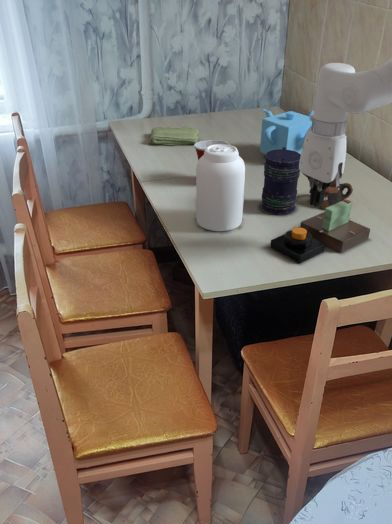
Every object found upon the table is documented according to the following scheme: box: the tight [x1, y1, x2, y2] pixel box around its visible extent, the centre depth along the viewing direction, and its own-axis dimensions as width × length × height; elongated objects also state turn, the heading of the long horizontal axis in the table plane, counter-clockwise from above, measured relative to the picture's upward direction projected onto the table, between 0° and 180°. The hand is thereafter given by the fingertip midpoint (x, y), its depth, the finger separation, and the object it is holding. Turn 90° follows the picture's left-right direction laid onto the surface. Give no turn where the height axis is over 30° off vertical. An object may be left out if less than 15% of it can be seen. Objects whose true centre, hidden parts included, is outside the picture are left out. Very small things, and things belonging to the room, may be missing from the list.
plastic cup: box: [193, 139, 231, 162], centre depth 165 cm, size 11×11×12 cm
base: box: [299, 211, 371, 253], centre depth 141 cm, size 14×12×3 cm
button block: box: [269, 229, 326, 264], centre depth 135 cm, size 10×9×4 cm
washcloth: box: [149, 126, 200, 146], centre depth 198 cm, size 13×18×3 cm
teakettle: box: [259, 108, 314, 155], centre depth 181 cm, size 19×19×15 cm
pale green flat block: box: [322, 198, 353, 231], centre depth 138 cm, size 8×2×6 cm, turn 130°
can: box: [195, 144, 246, 232], centre depth 142 cm, size 12×12×20 cm
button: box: [291, 226, 307, 240], centre depth 134 cm, size 4×4×2 cm
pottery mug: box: [308, 182, 354, 210], centre depth 157 cm, size 12×10×8 cm
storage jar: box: [260, 147, 301, 216], centre depth 149 cm, size 10×10×18 cm
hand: (315, 203), depth 132 cm, fingers closed
